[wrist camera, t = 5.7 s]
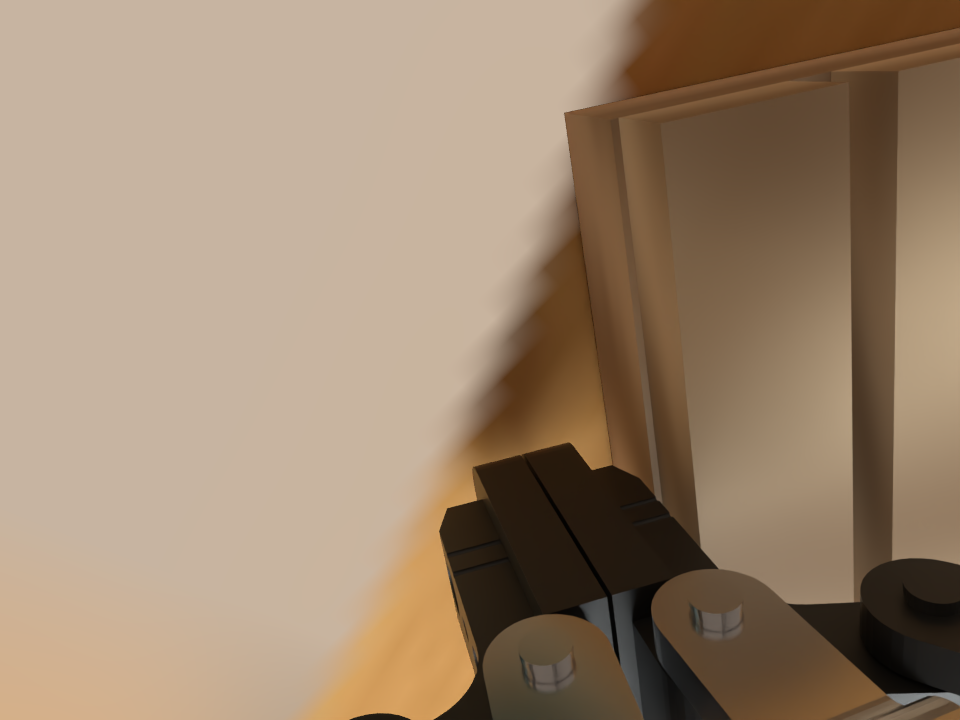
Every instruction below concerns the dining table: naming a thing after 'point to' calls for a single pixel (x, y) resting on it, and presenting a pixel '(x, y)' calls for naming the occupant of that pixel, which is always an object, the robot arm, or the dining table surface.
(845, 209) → the pallet
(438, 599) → the dining table surface
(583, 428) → the dining table surface
